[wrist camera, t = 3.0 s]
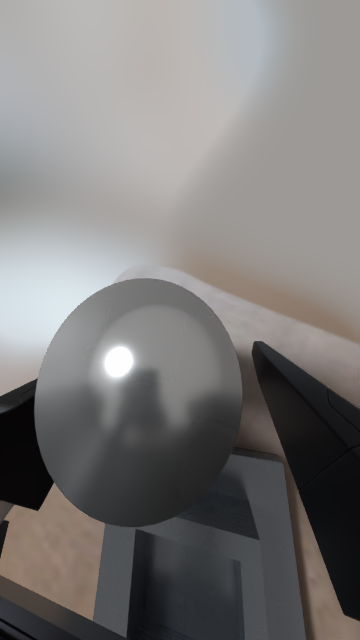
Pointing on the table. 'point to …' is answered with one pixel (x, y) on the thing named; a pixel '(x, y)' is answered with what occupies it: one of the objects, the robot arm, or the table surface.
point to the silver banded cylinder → (138, 402)
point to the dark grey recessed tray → (208, 564)
